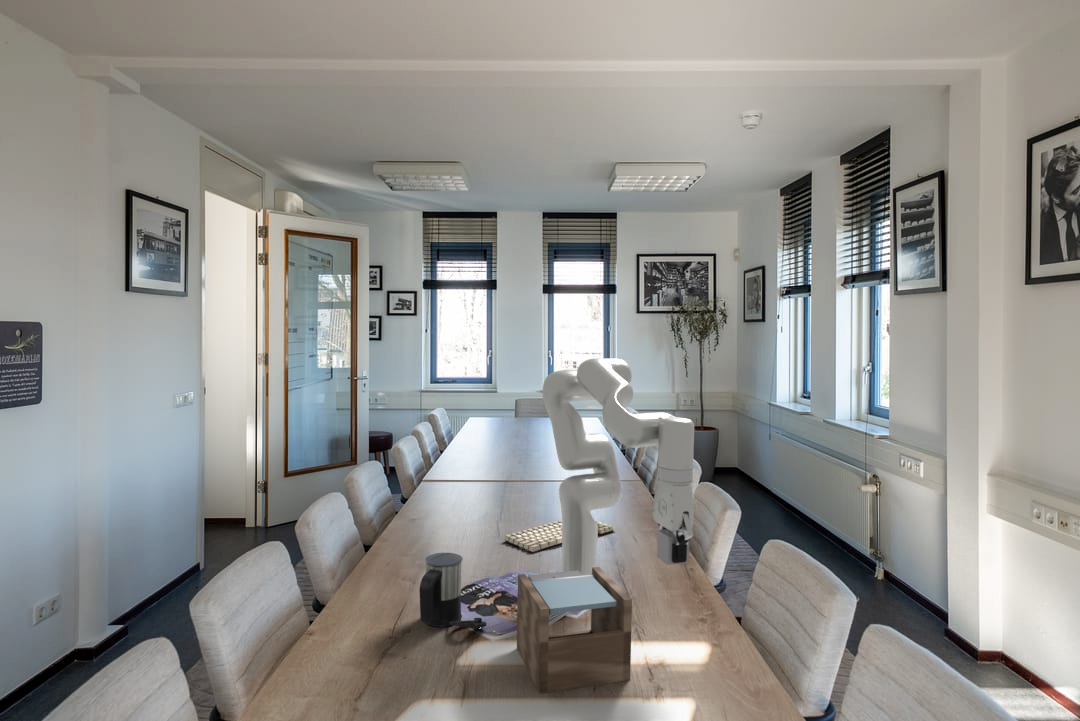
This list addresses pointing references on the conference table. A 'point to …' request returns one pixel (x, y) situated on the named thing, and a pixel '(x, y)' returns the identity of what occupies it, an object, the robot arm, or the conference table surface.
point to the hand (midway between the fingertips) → (672, 556)
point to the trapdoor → (571, 591)
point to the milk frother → (443, 592)
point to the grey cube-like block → (667, 546)
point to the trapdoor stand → (574, 641)
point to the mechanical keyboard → (546, 537)
